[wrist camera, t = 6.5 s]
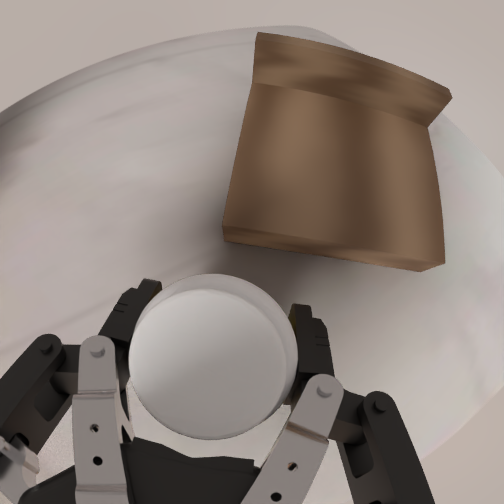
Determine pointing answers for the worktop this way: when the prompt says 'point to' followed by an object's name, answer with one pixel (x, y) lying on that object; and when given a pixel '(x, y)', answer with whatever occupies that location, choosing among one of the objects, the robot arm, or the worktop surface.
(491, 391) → the worktop surface
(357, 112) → the walnut shelf step
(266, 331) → the supplement bottle
